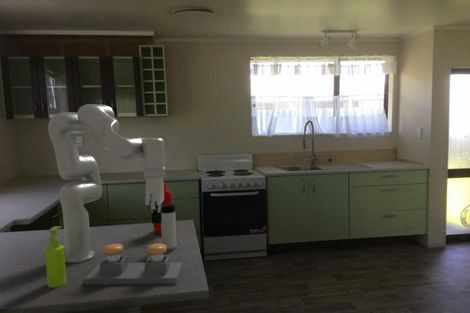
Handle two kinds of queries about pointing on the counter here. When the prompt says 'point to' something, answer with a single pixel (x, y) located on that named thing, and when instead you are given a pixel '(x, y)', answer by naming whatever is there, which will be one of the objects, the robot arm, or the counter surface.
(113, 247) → the knob
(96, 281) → the console
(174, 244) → the travel mug
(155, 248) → the knob
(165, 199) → the water bottle
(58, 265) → the soap dispenser
